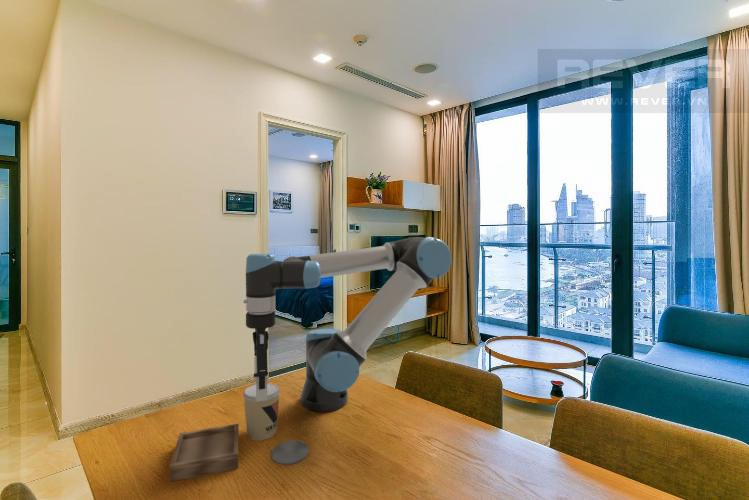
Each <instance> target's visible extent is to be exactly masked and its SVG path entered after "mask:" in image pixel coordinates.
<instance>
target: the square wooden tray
mask: <svg viewBox="0 0 749 500" xmlns="http://www.w3.org/2000/svg"><path fill="white" fill-rule="evenodd" d="M239 432H240V431H239V423H234V424H228V425H222V426H213V427H208V428H203V429H196V430H190V431H185V432H179V435H178V437H177V440H176V443H175V446H174V450H173V454H172V457H171V460H170V463H169V468H168V469H169V482H170V483H171V482H176V481H181V480H187V479H191V478H192V479H193V478H196V477H201V476H202V477H204V476H206V475H211V474H212V475H213V474H217V473H222V472H228V471H231V470H237V469H239V445H240V444H239V439H240V438H239V437H240V436H239V434H240V433H239Z"/></svg>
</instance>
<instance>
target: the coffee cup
mask: <svg viewBox="0 0 749 500" xmlns="http://www.w3.org/2000/svg"><path fill="white" fill-rule="evenodd" d="M242 397H243V400H244V412H245V415H244V417H245V426H246V435H247V437H248V438H249V439H250V440H253V441H264V440H265V441H266V440H267V439H270V438H272V437H273V436H274V435H276V433H277V430H278V419H279V418H278V415H279V400H280V398H279V397H280V388H279V386H278V385H277V384H275V383H271V382H267V400H263V401H256V383H254V384H252V385H250V386H248V387H246V388H245V390H244V392H243V396H242Z"/></svg>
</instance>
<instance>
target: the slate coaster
mask: <svg viewBox="0 0 749 500" xmlns="http://www.w3.org/2000/svg"><path fill="white" fill-rule="evenodd" d="M308 455H309V447H308V445H307V444H306V443H305V442H303V441H301V440H287V441H283V442H281V443H278V444H277V445H275V446H274V447H273V448H272V449H271V452H270V458H271V460H272V461H273V462H274V463H275V464H278V465H281V466H282V465H283V466H287V465H288V466H289V465H294V464H298V463H299V462H302V461H303V460H304V459H306V457H307V456H308Z"/></svg>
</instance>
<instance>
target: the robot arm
mask: <svg viewBox="0 0 749 500" xmlns="http://www.w3.org/2000/svg"><path fill="white" fill-rule="evenodd" d="M276 258H277V257H276V255H275V254H273V253H251V254H248V255H247V256H246V262H245V298H246V299H244V300H243V304H245V310H246V314H245V327H246V328H247V329H251V330H254V331H253V332H252V341H253V348H254V350H253V351H254V354H253V356H254V358H253V359H254V361H253V362H254V363H253V365H254V367H253V369H254V372H253V377H254V381H255V384H256V401H263V400H267V383H268V377H269V372H268V349H269V338H270V337H269V336H270V335H269V334H270V333H269V331H267V330H266V329H268V328H273V327H274V326H275V325H276V312H275V310H276V290H283V289H285V290H287V289H306V290H307V289H313V288H317V287H319V286H320V283H321V278H329V277H336V276H343V275H351V274H357V273H364V272H371V271H379V270H385V269H387V271H389V272H392V271H394V273H393V274H392V275H391V277H389V278H388V280H387V281H386V282H385V284H384V285H383V286H381V288H380V289H379V290H378V291H377V293H376V294H375V295H373V297H372V298H371V300H370V301H369V302H368V303H367V304H366V305H365V306H364V308H363V309H362V310H361V311H360V312H359V313H358V314H357V316H355V318H354V319H353V320H352V322H351V323H349V325H348V326H347V327H346V328H345V329H344V330H341V329H338V328H337V329H336V328H320V329H313V330H309V331H308V332H307V333H306V336H305V338H306V339H305V347H306V349H305V354H306V355H305V360H306V361H305V362H306V365H305V370H306V371H305V375H306V376H305V381H304V383H303V388H302V390H301V393H300V404H301V406H302V407H303V408H304V409H307V410H309V411H314V412H329V411H330V412H331V411H335V410H338V409H340V408H342V407H344V406H345V405H346V404H347V403H348V402H349V393H348V390H349V389H350V388H352V387H353V385H355V384H356V382H357V380H358V378H359V375H360V367H361V366H362V364H363V363H364V362H365V361H366V359H367V350H368V349H369V348H370V347H371V346H372V344H373V343H374V342H375V341H376V339H378V337H379V336H380V335H381V334H382V332H383V331H384V330H385V329H386V328H387V327H388V325H389V324H390V323H392V320H393V319H394V318H395V317H396V316H397V315H398V314H399V312H400V311H401V310H402V309H403V307H405V305H406V304H407V303H408V301H409V300H410V299H411V298H412V297H413V296H414V295H415V293H416V292H418V290H419V289H425V288H427V287H428V286H429V285H430V284H431V283H432V281H433V280H434V279H439V278H441V277H443V276H445V275H446V274H447V273H448V272H449V271H450V268H451V265H452V261H453V260H452V253H451V249H450V248H449V246H448V245H447V243H446V242H445V241H443V240H442V239H438V238H436V237H430V236H428V237H421V236H411V237H408V238H402V239H399V240H394V241H388V242H385V243H384V244H383V245H380V246H373V247H366V248H365V247H364V248H358V249H351V250H349V249H348V250H342V251H334V252H333V251H332V252H327V253H326V252H325V253H319V254H310V255H303V256H289V257H286V258H285V259H283V261H280V260H277V259H276Z"/></svg>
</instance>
